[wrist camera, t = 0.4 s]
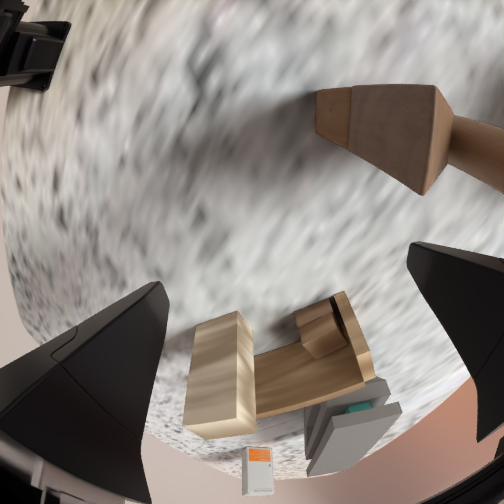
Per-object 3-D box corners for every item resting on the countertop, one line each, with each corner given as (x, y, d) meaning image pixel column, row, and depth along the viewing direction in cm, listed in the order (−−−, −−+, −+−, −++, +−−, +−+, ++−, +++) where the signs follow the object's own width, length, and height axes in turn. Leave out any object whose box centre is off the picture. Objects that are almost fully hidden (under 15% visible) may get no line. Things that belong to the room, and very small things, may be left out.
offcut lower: (293, 310, 29) (296, 325, 27) (327, 296, 28) (333, 311, 26) (304, 330, 30) (307, 344, 28) (336, 317, 29) (341, 332, 28)
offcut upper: (298, 328, 27) (302, 344, 25) (330, 311, 26) (336, 327, 24) (312, 343, 28) (316, 359, 26) (342, 328, 27) (348, 344, 25)
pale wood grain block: (196, 325, 29) (182, 426, 19) (237, 310, 28) (236, 417, 18) (213, 344, 31) (205, 439, 20) (252, 331, 30) (256, 432, 19)
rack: (198, 344, 31) (191, 403, 24) (344, 290, 27) (369, 350, 20) (224, 371, 34) (222, 425, 27) (355, 326, 30) (376, 381, 23)
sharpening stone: (340, 421, 45) (350, 468, 35) (300, 427, 45) (307, 476, 35) (374, 341, 32) (402, 412, 23) (316, 350, 32) (334, 429, 23)
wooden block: (315, 88, 18) (538, 99, 2) (431, 111, 18) (614, 186, 2) (313, 135, 19) (500, 271, 4) (426, 150, 20) (595, 258, 4)
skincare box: (272, 447, 51) (275, 493, 40) (265, 452, 53) (268, 496, 42) (246, 445, 50) (247, 493, 39) (240, 451, 52) (241, 495, 41)
